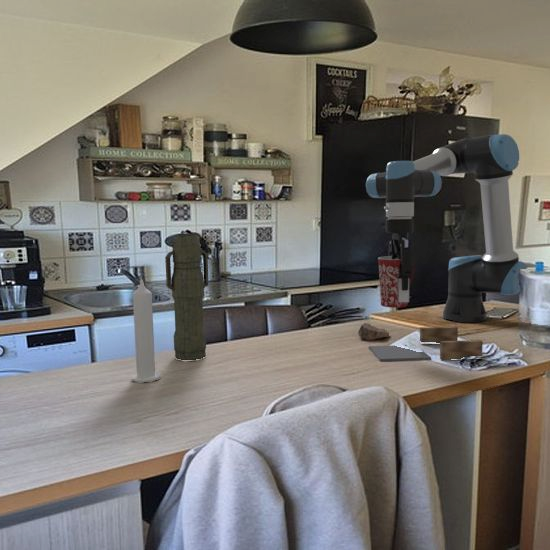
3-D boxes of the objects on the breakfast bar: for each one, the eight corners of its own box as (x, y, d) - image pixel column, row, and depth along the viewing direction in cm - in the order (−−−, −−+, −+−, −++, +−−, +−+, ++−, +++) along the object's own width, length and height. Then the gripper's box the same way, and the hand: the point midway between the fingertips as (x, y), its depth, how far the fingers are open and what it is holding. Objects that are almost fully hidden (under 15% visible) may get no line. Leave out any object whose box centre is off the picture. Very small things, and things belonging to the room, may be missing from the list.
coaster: (415, 346, 164) (415, 344, 164) (430, 359, 150) (431, 357, 150) (368, 348, 164) (368, 346, 164) (380, 361, 150) (380, 359, 150)
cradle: (455, 342, 169) (455, 326, 168) (482, 359, 150) (482, 341, 149) (419, 343, 168) (420, 327, 167) (442, 360, 149) (442, 342, 148)
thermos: (164, 357, 157) (159, 234, 153) (202, 351, 164) (197, 232, 160) (177, 364, 150) (172, 235, 146) (216, 357, 157) (212, 233, 152)
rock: (360, 342, 172) (392, 336, 172) (356, 323, 173) (388, 317, 172) (359, 342, 181) (389, 336, 180) (355, 324, 182) (385, 318, 181)
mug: (396, 309, 148) (397, 259, 147) (370, 305, 155) (371, 257, 154) (425, 303, 156) (426, 256, 155) (399, 300, 163) (399, 254, 162)
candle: (130, 376, 140) (125, 278, 137) (158, 373, 142) (153, 276, 139) (133, 384, 133) (128, 282, 130) (163, 381, 136) (158, 280, 133)
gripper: (376, 217, 163) (376, 293, 166) (396, 219, 142) (396, 306, 144) (402, 217, 163) (401, 293, 166) (425, 218, 142) (424, 305, 145)
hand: (398, 299), depth 155 cm, fingers closed on mug, 9 cm apart
